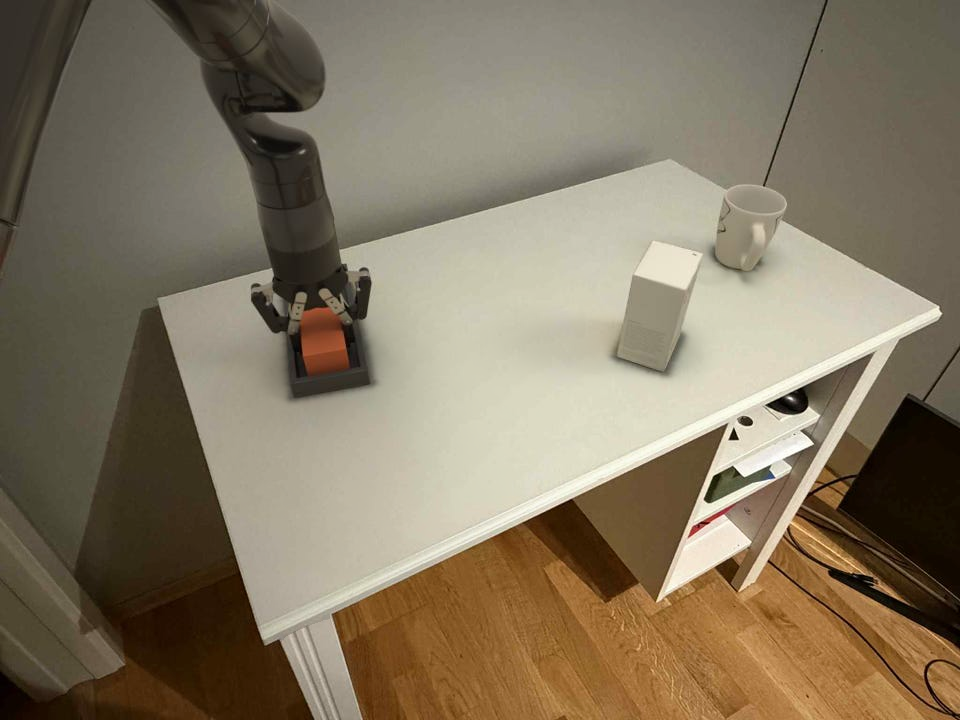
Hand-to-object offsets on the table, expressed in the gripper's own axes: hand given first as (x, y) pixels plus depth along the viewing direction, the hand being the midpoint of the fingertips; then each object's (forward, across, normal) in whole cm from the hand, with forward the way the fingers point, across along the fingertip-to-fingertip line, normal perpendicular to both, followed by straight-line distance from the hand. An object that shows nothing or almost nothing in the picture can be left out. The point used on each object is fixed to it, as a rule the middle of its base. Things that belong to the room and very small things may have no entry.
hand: (325, 346), depth 80 cm
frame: (+2, 0, +5) cm, 5 cm away
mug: (+2, +61, +5) cm, 62 cm away
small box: (+2, +40, -9) cm, 41 cm away
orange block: (0, 0, 0) cm, 0 cm away
